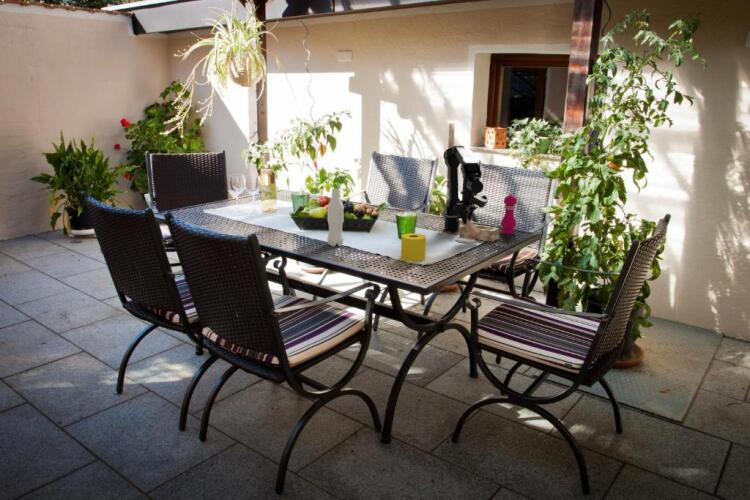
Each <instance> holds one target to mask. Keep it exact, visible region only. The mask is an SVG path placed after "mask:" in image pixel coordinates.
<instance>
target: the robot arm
mask: <svg viewBox="0 0 750 500" xmlns="http://www.w3.org/2000/svg"><path fill="white" fill-rule="evenodd" d="M442 155H443V159H444V164H445V166H446V168H447V171H448V172H447V174H448V175H447V177H448V178H447V179H448V181H447V182H448V199H447V201H446V202H445V207H444V209H443V211H442V218H444V228H443V229H442V230H443V231H446V232H451V233H452V232H453V233H456V232H458V231H460V226H461V223H460V222H461V221H463V223H464V224H466V223H467V218H468V219H469V220H470V221H471V220H472V216H473V215H474V212H475V211H476V210H477V209H478V208H480V209H483V208H485V207H486V204H488V203H489V202H488V197H487V195H484V194H483V195H478V194H480V193H482V192H483V190H484V183H483V182H482V181H481V180H480V179H482V175H483V173H482V170H481V166H480V164H479V162H478V161H477V160H475V159H473V158H471V157H470V155H469V154H468V152H467V151H466V149H465V146H464V145H461V144H460V145H457V144H456V145H453V146H452V147H449V148H447V149H445V150H444V152H443V154H442ZM459 167H460V172H461V174H462V189H461V191H460V195H461V199H460V198H459ZM460 220H461V221H460Z"/></svg>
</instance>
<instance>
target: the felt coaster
mask: <svg viewBox="0 0 750 500" xmlns="http://www.w3.org/2000/svg"><path fill="white" fill-rule="evenodd" d="M476 240H477V239H473V238H468V237H460V236H459V237H457V238H456V239H455V242H457V243H461V244H473V243H474V242H475V243H476Z"/></svg>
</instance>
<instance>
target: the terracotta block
mask: <svg viewBox="0 0 750 500" xmlns="http://www.w3.org/2000/svg"><path fill="white" fill-rule="evenodd" d="M460 225H461V226H462V225H463V226H464V227H465V228H466V229H467V230H468V231H469V232H470V234H471V235H472V236H473V237H475V236H476V235H478V234H479V233H480V232H481V231H480V230H479V229H478V228H477V227H476V226H475V225H476V224H474V223H473V222H472V221H471V220H469V219H468V218H467V223H466V224H464V223H463V221H462V220H461V221H460Z"/></svg>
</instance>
